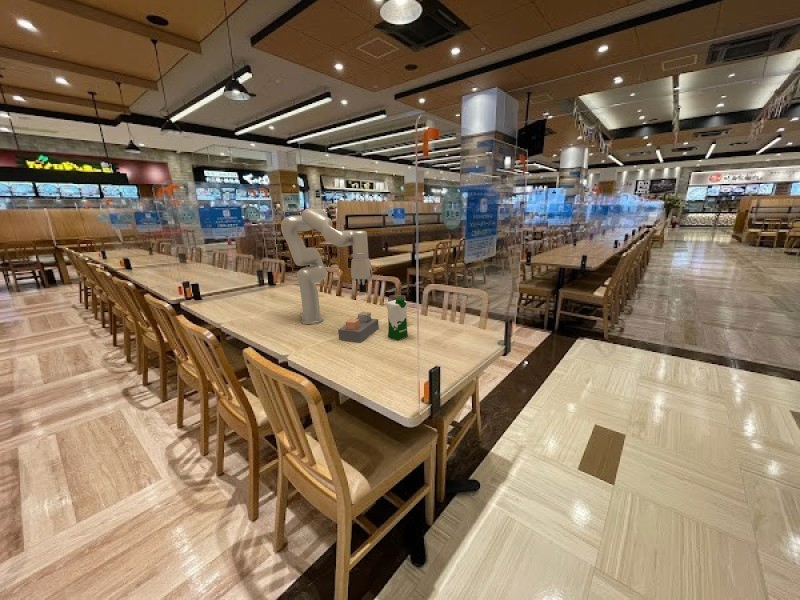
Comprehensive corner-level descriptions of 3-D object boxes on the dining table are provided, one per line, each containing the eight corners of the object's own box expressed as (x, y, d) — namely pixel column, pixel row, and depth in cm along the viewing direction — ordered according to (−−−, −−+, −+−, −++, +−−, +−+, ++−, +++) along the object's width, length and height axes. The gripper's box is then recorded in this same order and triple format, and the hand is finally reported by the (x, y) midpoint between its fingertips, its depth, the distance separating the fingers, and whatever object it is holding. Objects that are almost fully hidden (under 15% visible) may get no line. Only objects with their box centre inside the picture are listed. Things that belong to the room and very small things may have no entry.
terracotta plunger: (346, 331, 156) (345, 321, 154) (351, 327, 160) (350, 318, 159) (355, 332, 154) (354, 322, 152) (360, 329, 158) (359, 319, 157)
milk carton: (398, 341, 152) (397, 301, 147) (385, 337, 158) (383, 298, 153) (410, 336, 159) (409, 297, 153) (397, 332, 165) (396, 294, 159)
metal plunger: (358, 323, 166) (357, 314, 165) (362, 320, 171) (362, 311, 169) (366, 324, 164) (366, 315, 163) (371, 321, 169) (370, 312, 167)
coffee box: (406, 322, 179) (405, 294, 175) (405, 326, 173) (404, 297, 169) (390, 322, 180) (389, 294, 176) (389, 326, 174) (387, 297, 169)
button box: (339, 339, 157) (338, 329, 155) (359, 326, 174) (358, 317, 173) (360, 342, 152) (359, 332, 151) (378, 329, 170) (378, 319, 169)
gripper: (343, 256, 158) (346, 292, 163) (370, 257, 152) (372, 294, 157) (351, 254, 165) (354, 289, 169) (377, 255, 159) (379, 291, 164)
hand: (363, 291), depth 163 cm, fingers closed
